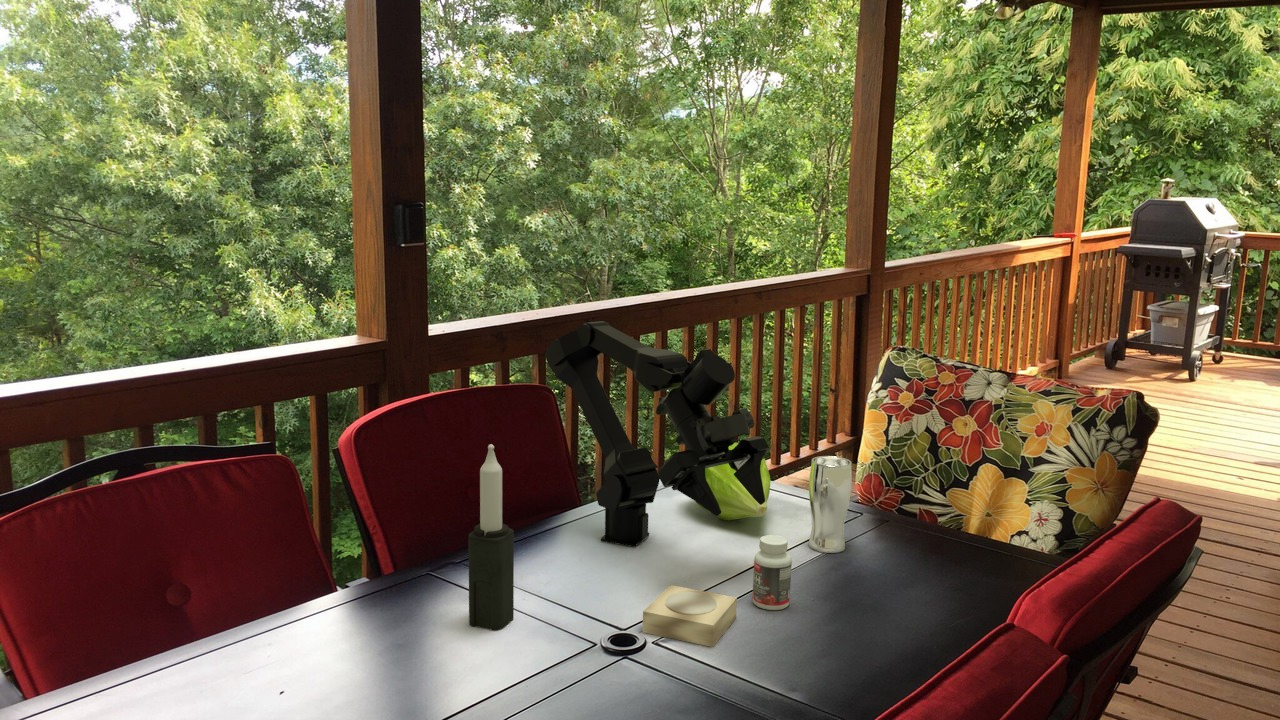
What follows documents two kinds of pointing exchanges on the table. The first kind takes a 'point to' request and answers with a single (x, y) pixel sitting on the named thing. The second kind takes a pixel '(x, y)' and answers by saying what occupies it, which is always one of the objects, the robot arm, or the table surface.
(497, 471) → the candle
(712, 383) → the robot arm
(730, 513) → the lettuce
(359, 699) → the table surface
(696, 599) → the pedestal
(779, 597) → the pill bottle
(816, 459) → the beer glass
